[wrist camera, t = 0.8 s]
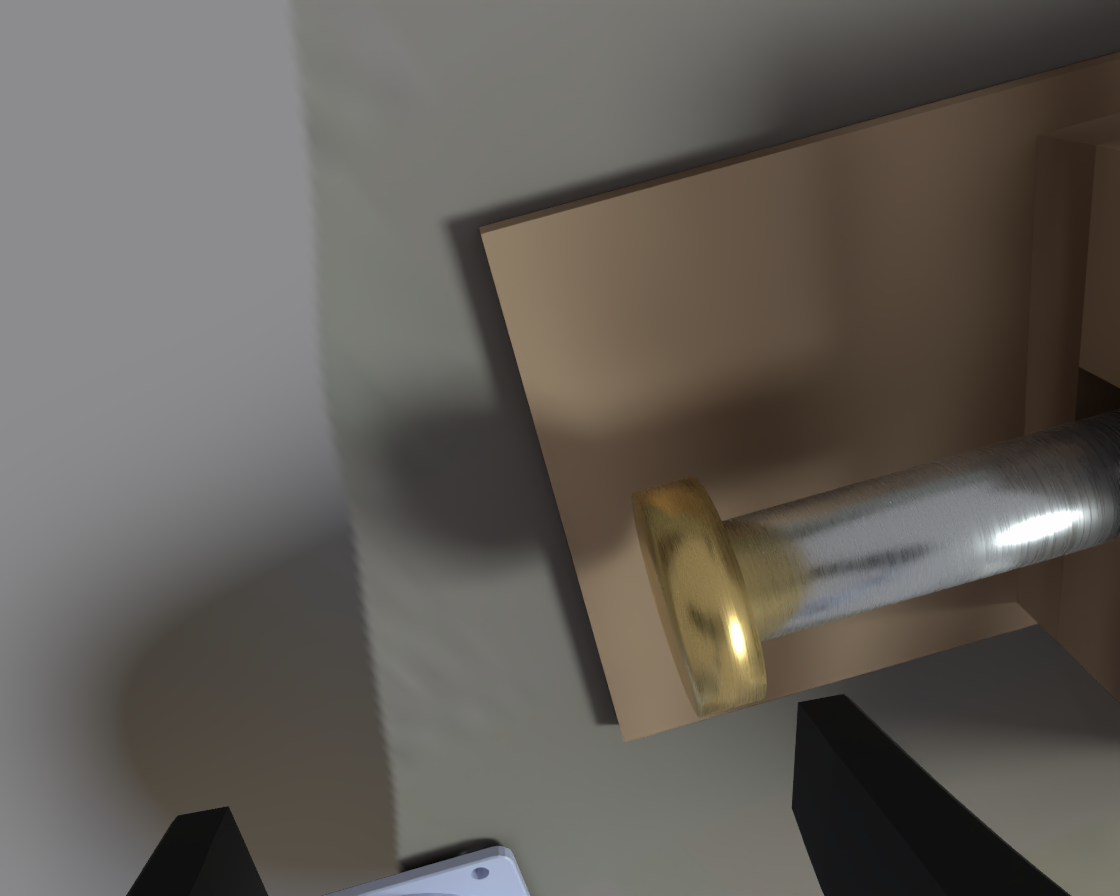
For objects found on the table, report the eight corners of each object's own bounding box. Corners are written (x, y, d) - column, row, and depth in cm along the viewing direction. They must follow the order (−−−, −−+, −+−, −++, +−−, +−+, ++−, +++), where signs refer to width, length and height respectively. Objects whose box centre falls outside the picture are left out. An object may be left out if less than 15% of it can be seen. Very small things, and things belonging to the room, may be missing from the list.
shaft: (655, 615, 19) (715, 767, 15) (618, 453, 17) (676, 582, 13) (1110, 486, 19) (1284, 604, 15) (1129, 310, 17) (1336, 394, 13)
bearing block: (619, 726, 23) (683, 958, 17) (478, 227, 16) (508, 337, 10) (1377, 508, 23) (1685, 665, 17) (1548, -67, 16) (2138, -115, 11)
